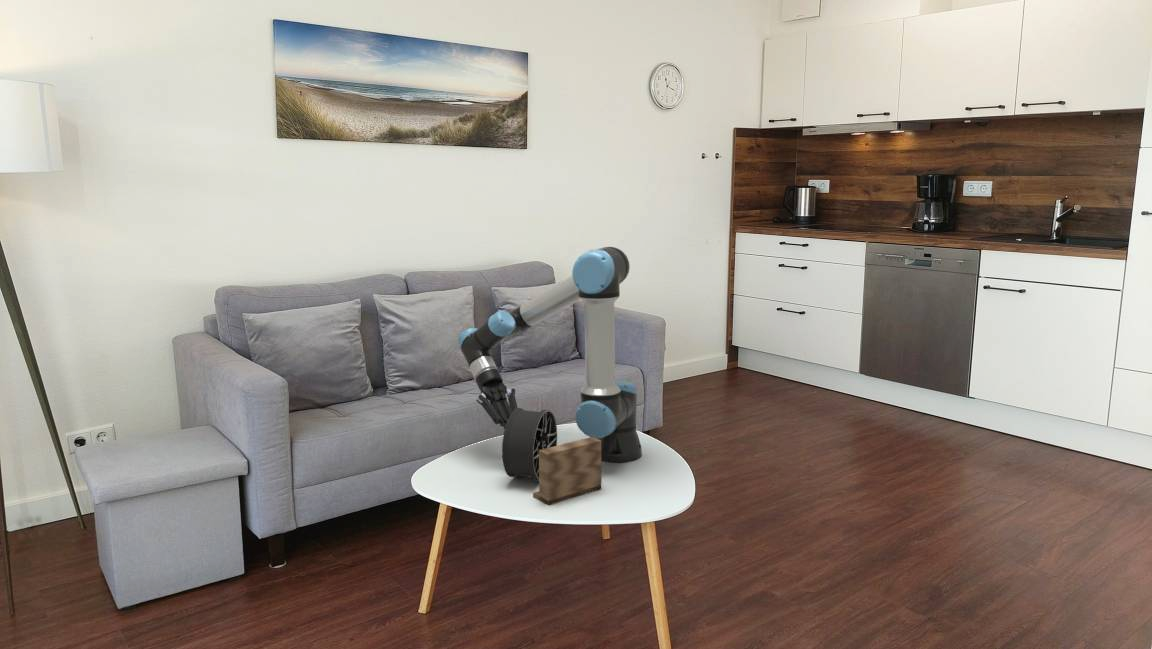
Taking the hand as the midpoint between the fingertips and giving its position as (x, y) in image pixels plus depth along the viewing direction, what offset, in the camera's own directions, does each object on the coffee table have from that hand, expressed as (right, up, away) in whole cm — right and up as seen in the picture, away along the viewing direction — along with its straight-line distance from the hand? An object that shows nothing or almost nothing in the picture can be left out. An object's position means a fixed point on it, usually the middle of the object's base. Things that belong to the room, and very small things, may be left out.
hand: (517, 441), depth 238 cm
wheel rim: (+4, -10, -3) cm, 11 cm away
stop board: (+15, -12, -15) cm, 24 cm away
